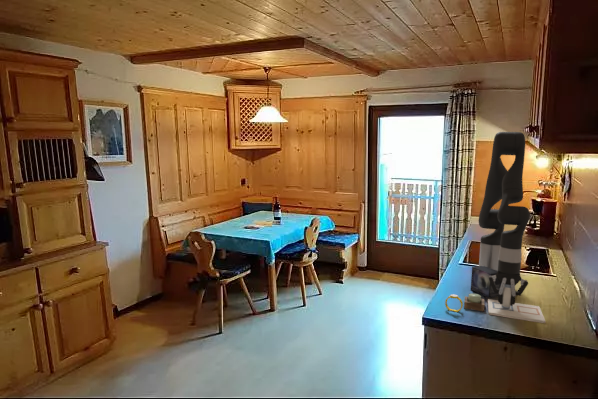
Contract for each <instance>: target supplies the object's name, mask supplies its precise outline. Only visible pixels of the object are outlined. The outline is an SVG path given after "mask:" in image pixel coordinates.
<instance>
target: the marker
mask: <svg viewBox="0 0 598 399" xmlns="http://www.w3.org/2000/svg"><path fill="white" fill-rule="evenodd" d="M511 295H512V290H511V285H507V284H505V286H504V289H503V299H502V306H501V307H503V308H506V309H510V304H511Z"/></svg>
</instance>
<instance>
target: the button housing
mask: <svg viewBox="0 0 598 399" xmlns="http://www.w3.org/2000/svg"><path fill="white" fill-rule="evenodd" d="M485 305H486V304H485V299H484V298H481V303H474V302H468V296H466V295H465V296H464V301H463V309H466V310H472V311H479V312H485Z"/></svg>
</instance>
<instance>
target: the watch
mask: <svg viewBox="0 0 598 399" xmlns="http://www.w3.org/2000/svg"><path fill="white" fill-rule="evenodd" d="M449 299H456V300H458V301H459V303H460V308H459V309H454V308H453V309H452V308H450V307H449V306H448V303H447V302H448V300H449ZM444 304H445V307H446V309H447V310H448V311H450V312H456V313H458V312H461V310H462V309H463V308H464V302H463V301H462V299H461V298H460V296H459V295H457V294H454V293H452V294H450V295H449V296H448V297H447V298H446V299H445V301H444Z"/></svg>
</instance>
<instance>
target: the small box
mask: <svg viewBox="0 0 598 399" xmlns="http://www.w3.org/2000/svg"><path fill="white" fill-rule="evenodd" d="M496 273H497V270H494V269H491V268H488V267H485V266H479V265H478V266H477V265H476V266H471V276H470V291H472V292H474V293H476V294H478V295H480V296H481V295H482V296H484V297H486V298H488V299H492V298H498V293H496V292H494V291H493V288H492V286H491V283H490V281H489V276H493V275H496ZM494 283H495V285H496V288H497V289H499V287H500V282H499V281H498V279H497V278H496V279H495V282H494Z"/></svg>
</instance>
